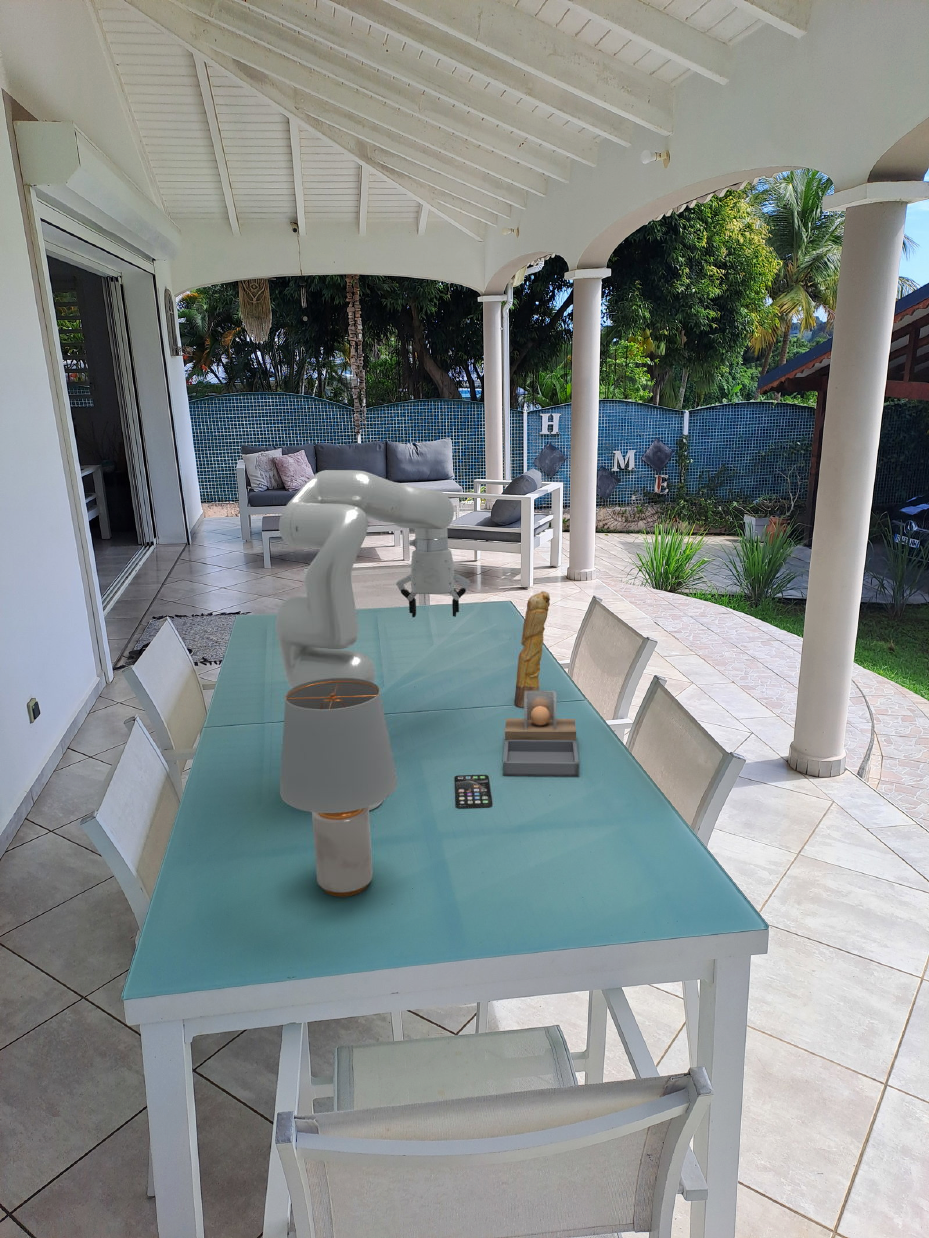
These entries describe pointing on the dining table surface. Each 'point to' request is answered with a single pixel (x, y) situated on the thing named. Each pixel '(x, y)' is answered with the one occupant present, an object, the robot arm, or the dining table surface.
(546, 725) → the ledge
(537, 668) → the sculpture
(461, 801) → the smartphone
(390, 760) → the lamp
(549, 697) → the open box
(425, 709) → the dining table surface
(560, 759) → the tray
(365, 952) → the dining table surface
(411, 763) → the dining table surface
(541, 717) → the ball
